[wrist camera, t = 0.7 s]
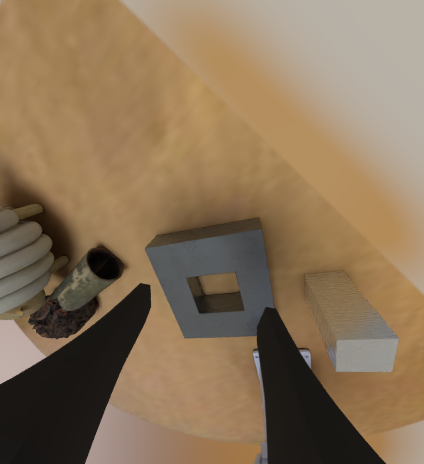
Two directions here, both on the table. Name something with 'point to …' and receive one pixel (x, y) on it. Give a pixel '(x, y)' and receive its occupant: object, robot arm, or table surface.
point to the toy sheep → (24, 262)
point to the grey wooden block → (349, 324)
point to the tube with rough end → (77, 295)
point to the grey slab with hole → (214, 262)
